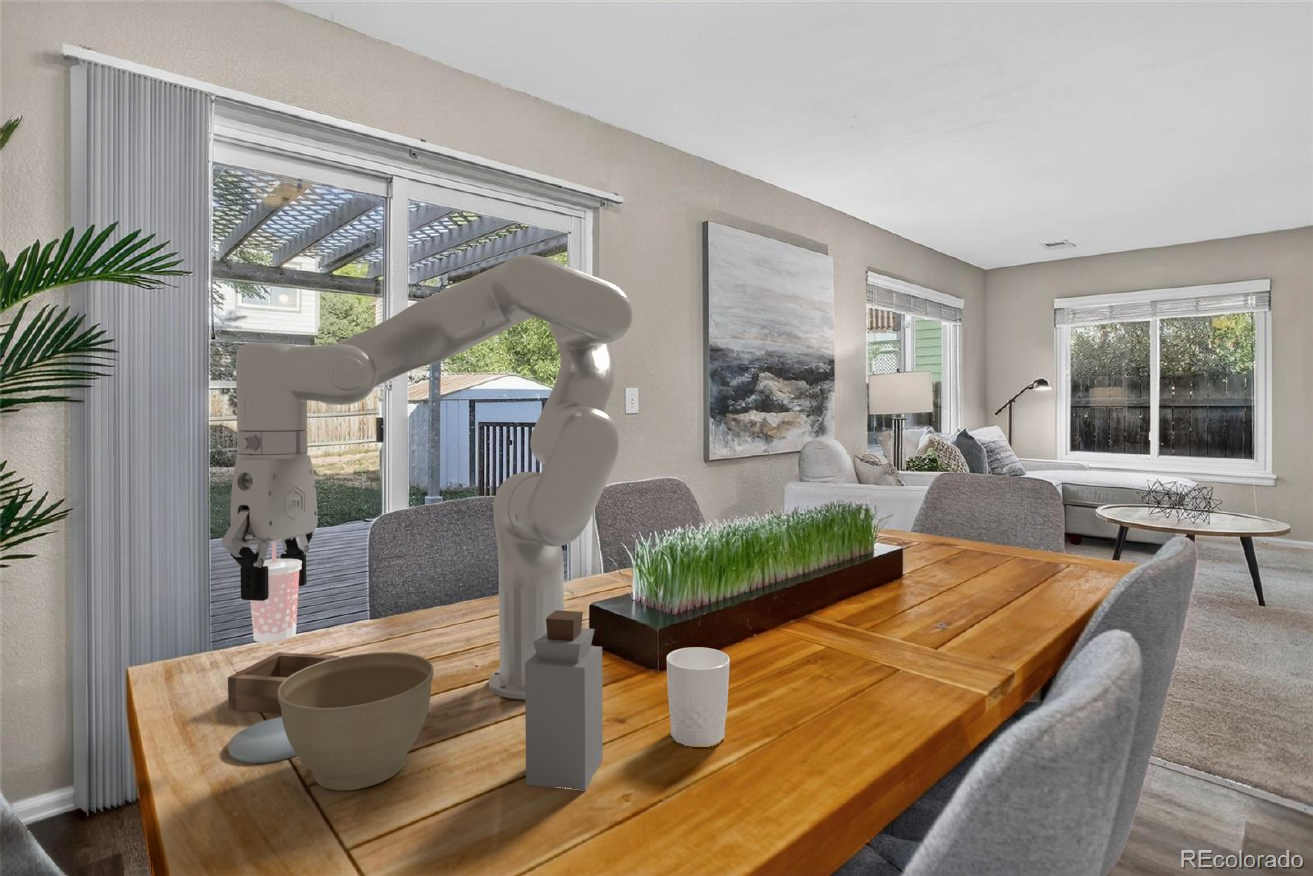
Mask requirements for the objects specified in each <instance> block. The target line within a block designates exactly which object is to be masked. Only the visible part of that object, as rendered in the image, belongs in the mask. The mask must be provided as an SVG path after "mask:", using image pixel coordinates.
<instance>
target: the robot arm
mask: <svg viewBox="0 0 1313 876" xmlns="http://www.w3.org/2000/svg"><path fill="white" fill-rule="evenodd" d="M535 318H536V319H539V320H541V321H545V322H547V323H548V326H549V331H550V333H551V335H552V338H553V340H554V342H555V344H556V346H557V348H558V352H559V355H560V368H559V371H558V375H557V378H556V380H555V383H554V384H553V388H552V390H551V391H550V394H549V396H548V398H547V400H546V403H545V405H544V406H543V409H542V410H541V413H540V415H539V417H538V418H537V421H536V423H535V425H534V427H533V430H532V433H531V435H530V442H529V443H530V444H529V445H530V449H531V453H532V454H533V456H534V458H535V460H537V461H538V462H539V463H540V464H542V465H544V466H543V468H542V470H541V472H535V471H521V472H518V473H515V474H513V475H511V476H509V477H508V478H507V479H505V480H504V481H503V482H502V483H501V484H500V486H499V487H498V489H497V491H496V493H495V496H494V499H493V500H494V501H493V506H492V507H493V509H492V510H493V523H494V529H495V536H496V543H497V555H498V624H499V625H498V626H499V627H498V628H499V629H498V631H499V633H498V635H499V636H498V637H499V639H498V641H499V648H498V649H499V654H498V655H499V668H498V669H497V670H495V671H494V672H492V674H490V676H489V679H488V687H489V690H490V691H491V692H492V693H493V694H495V695H497V696H500V697H503V698H507V699H511V700H525V663H526V662H527V661H528V660H529V659H530V658H531V657H532V656H533V655H534V654H536V650H535V646H534V643H533V641H534V640H535V639H536V638H537V637H538V636H540V635H541V634H542V633H543V632H544V631H545V630H546V629H547V626H546V618H547V617H548V616H549V615H551V614H552V613H553V612H554V611H555V610H560V611H565V599H564V597H565V595H564V594H565V589H564V588H565V587H564V586H565V582H564V581H565V573H564V572H565V567H564V566H565V564H564V563H565V562H564V554H563V548H562V547H563V546H565V545H568V544H570V543H572V542H573V541H575V540H576V539H577V538H579V536H580V535H581V534H582V533H583V532H584V530H585V529H586V527H587V525H589V524H588V523H589V522H590V521H591V518H592V516H593V514H594V512H595V509H596V507H597V505H598V502H599V501H600V498H601V497H602V493H603V492H604V489H605V486H606V485H607V482H608V480H609V477H610V476H611V473H612V471H613V468H614V466H615V463H616V460H617V457H618V454H619V452H618V451H619V445H620V444H619V440H620V439H619V432H618V429H617V426H616V424H615V422H614V421H613V419H612V418H611V417H610V416H609V415H608V414H607V413H606V412H605V409H606V407H607V404H608V401H609V399H610V397H611V393H612V390H613V387H614V382H615V368H614V363H613V357H612V354H611V350H610V347H609V345H608V344H611V343H614V342H615V341H618V340H619V339H621V338H622V337H623V336H624V335H625V334H627V332H628V331H629V328H630V326H631V324H632V321H633V308H632V304H631V303H630V300H629V298H628V296H627V295H626V294H625V292H624V291H623V290H622V289H620V287H618V286H616V285H615V284H613V283H611V282H609V281H606V280H604V279H603V278H600V277H597V276H594V275H592V274H589V273H586V272H583V271H581V270H579V269H576V268H573V267H571V266H569V265H567V264H564V263H561V262H559V261H556V260H552V259H549V258H548V257H544V256H541V255H535V254H521V255H517V256H515V257H513V258H511V259H509V260H507V261H505V262H503V263H501V264H498V265H496V266H494V267H491V268H490V269H487V270H485V271H483V272H481V273H478V274H476V275H473V276H471V277H470V278H467V279H465V280H463V281H461V282H459V283H456V284H454V285H452V286H450V287H447V288H445V289H443V290H441V291H439V292H437V293H434V294H432V295H429V296H427V297H425V298H422V299H421V300H418V301H417V302H415V303H413V304H412V305H410V306H408V307H406V308H404V309H403V310H402V311H401V310H400V312H398V313H397V314H395V315H393V316H391V317H390V318H388V319H386V320H384V321H383V322H381V323H379V324H376V325H374V326H373V327H371V328H368V329H366V330H364V331H362V332H359V333H358V334H355V335H353V336H351V337H348V338H346V339H344V340H342V341H340V342H338V343H335V344H326V345H324V344H323V345H305V346H303V345H302V346H301V345H299V346H298V345H294V344H289V343H281V342H249V343H244V344H242V345H241V346H239V348H237V349H238V350H237V351H236V355H235V380H236V381H235V382H236V383H235V385H236V388H235V389H236V391H235V392H236V430H237V431H236V449H237V451H236V454H237V457H236V459H235V465H234V470H233V476H232V485H231V494H230V495H231V496H230V526H229V528H228V529H227V531H226V532H225V534H224V535H223V537H222V539H221V545H222V546H223V547H224V548H225V549H226V550H227V552H229V553H230V556H231V557H232V558H233V559H234V561H235V564H236V566H237V567H238V568H240V571H239V573H240V598H241V600H243V601H250V600H255V601H264V600H267V599H268V597H269V584H268V566H263V565H264V562H265V560H266V558H267V554H268V549H269V546H270V544H272V543H275V542H276V543H279V542H281V545H282V548H283V552H284V553H283V552H282V553H280V558H279V559H298V560H301V561H302V565H301V566H302V568H301V569H300V570H299V586H298V587H303V586H306V585H307V554H308V553H309V551H310V545H309V544H310V542H311V540H312V538H313V534H314V532H315V530H316V529H317V527H318V524H319V519H318V502H317V501H318V500H317V489H316V479H315V472H314V467H313V463H312V460H311V456H310V455H309V453H308V448H309V447H308V401H311V402H320V403H323V404H325V405H333V406H334V405H335V406H337V405H338V406H347V405H348V406H349V405H353V404H355V403H358V402H361V401H362V400H364V399H366V398H367V397H368V396H369V395H371V394H372V392H373V390H374V389H375V388H376V387H378V386H380V385H381V384H384V383H386V382H388V381H390V380H392V379H393V380H394V379H395V378H397V377H399V376H402V375H403V374H406V373H409V372H411V371H413V370H417V369H419V368H423V367H425V366H426V367H427V366H429V365H434V364H438V363H440V362H443V361H446V360H448V359H450V358H452V357H455V356H457V355H459V354H461V353H463V352H465V351H468V350H469V349H471V348H473V347H475V346H477V345H478V344H481V343H483V342H484V341H486V340H488V339H490V338H492V337H495V336H496V335H499V334H500V333H502V332H503V333H504V332H505V331H506V330H509V329H510V328H513V327H515V326H516V325H520V324H521V323H523V322H525V321H527V320H531V319H535ZM252 547H256V550H255V552H254V551H253V550H252Z"/></svg>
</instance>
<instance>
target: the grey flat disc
mask: <svg viewBox="0 0 1313 876" xmlns="http://www.w3.org/2000/svg"><path fill="white" fill-rule="evenodd" d="M227 746H228V756H229V757H230V758H231V759H233V760H235V761H237V762H239V763H240V762H241V763H246V764H263V763H274V762H279V761H284V760H288V759H291V758H295V757H298V755H297V754H296V753H295V751H294V749H293V748H292V746H291V744H290V742H289V740H288V738H287V735H286V732H285V729H284V725H283V721H282V716H280V717H275V718H270V719H266V720H263V721H260V722H258V723H254V724H252V725H250V726H247V727H246V728H244V729H242V730H240V731H239V732H237V733H236V734H235V735H233V736H232V737H231V739H230V740H229V741H228V744H227Z"/></svg>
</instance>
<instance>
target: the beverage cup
mask: <svg viewBox="0 0 1313 876" xmlns="http://www.w3.org/2000/svg"><path fill="white" fill-rule="evenodd" d="M301 565H302V561H301V560H298V559H280V558H277V542H275V543H271V559H265V562H264V565H263V566H268V584H269V597H268V599H267V600H264V601H255V600H249V601H250V611H251V612H250V613H251V624H252V634H253V635H252V637H253V641H255V642H258V643H275V642H281V641H284V640H285V641H286V640H288V639H291V638H293V637H295V636H296V635H297V622H298V621H297V619H298V601H299V587H300V586H299V570H300V569H301V568H302V566H301Z"/></svg>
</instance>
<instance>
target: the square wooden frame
mask: <svg viewBox="0 0 1313 876" xmlns="http://www.w3.org/2000/svg"><path fill="white" fill-rule="evenodd" d="M339 657H340V655H329V654H315V653H314V654H312V653H295V652H283V651H282V652H275V653H274V654H272V655H270V656H267V657H265V658H263V659H262V660H259V661H258V662H255V663H254V664H251V665H250V666H247V667H246V668H244V669H242V670H240V671H238V672H236V673H234V674H231V675H230V676H228V677H227V695H228V697H227V698H228V699H227V700H228V704H227V705H228V711H236V712H237V711H238V712H251V713H265V714H281V706H280V704H279V700H278V688H279V686H280V685H281V683H282V682H283V681H284V680H286V679H287V678H288V677H290V676H291V675H292V674H294V673H296V672H298V671H300V670H302V669H304V668H307V667H309V666H312V665H315V664H317V663H320V662H324V661H327V660H331V659H335V658H339ZM281 715H282V714H281Z"/></svg>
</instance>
